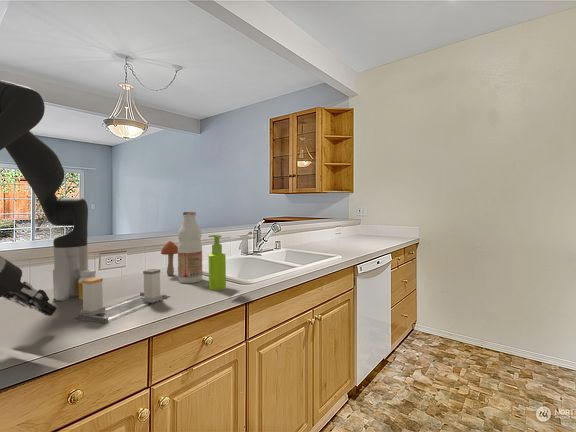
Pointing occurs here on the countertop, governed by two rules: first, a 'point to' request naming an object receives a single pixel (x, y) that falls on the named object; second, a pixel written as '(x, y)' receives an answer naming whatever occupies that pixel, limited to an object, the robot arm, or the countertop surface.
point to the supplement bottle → (85, 275)
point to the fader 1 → (92, 296)
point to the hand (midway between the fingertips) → (52, 311)
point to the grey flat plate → (119, 309)
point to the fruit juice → (189, 250)
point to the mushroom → (170, 255)
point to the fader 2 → (151, 285)
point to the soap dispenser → (217, 266)
